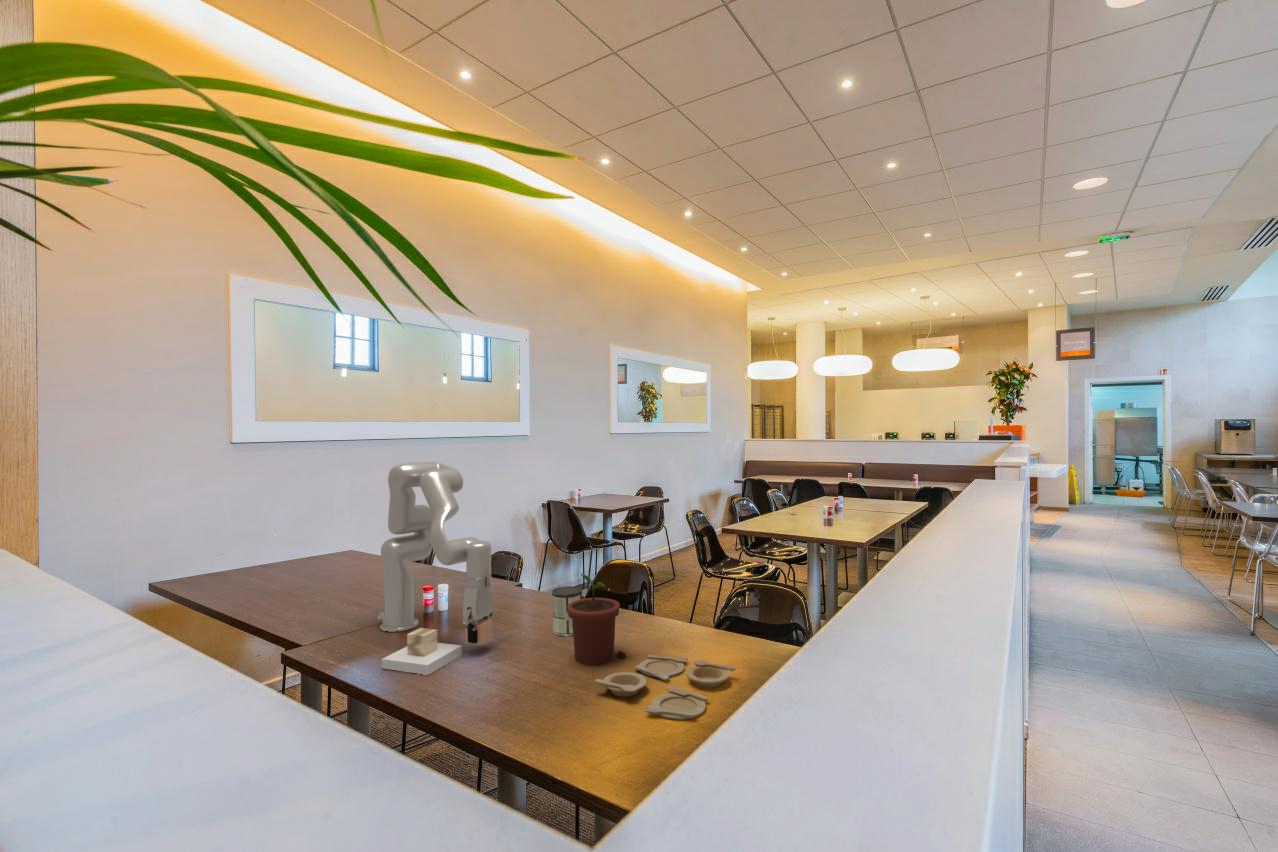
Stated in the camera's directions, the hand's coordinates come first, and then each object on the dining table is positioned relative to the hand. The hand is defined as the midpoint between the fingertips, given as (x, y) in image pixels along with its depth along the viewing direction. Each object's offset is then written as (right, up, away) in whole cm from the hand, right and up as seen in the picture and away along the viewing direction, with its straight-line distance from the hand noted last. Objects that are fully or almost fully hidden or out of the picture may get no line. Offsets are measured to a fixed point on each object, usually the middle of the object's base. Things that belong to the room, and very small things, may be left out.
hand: (478, 638), depth 188 cm
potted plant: (+38, -4, -4) cm, 38 cm away
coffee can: (+26, -4, +17) cm, 31 cm away
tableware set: (+58, -4, -28) cm, 64 cm away
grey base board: (-15, -4, -8) cm, 17 cm away
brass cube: (-15, -1, -8) cm, 17 cm away
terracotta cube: (0, -1, 0) cm, 1 cm away
